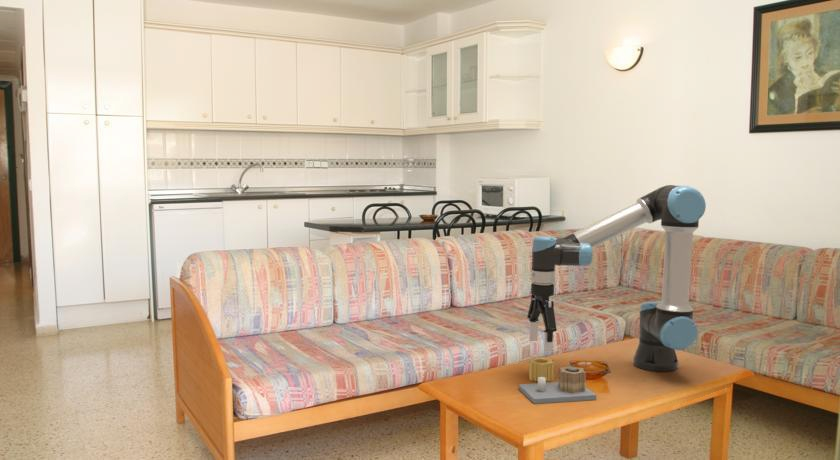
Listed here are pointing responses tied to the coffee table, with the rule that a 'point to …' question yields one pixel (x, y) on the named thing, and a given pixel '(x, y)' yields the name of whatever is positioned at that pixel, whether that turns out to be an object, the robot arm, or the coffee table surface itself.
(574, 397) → the gear board
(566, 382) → the gear
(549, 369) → the ochre gear
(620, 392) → the coffee table surface
